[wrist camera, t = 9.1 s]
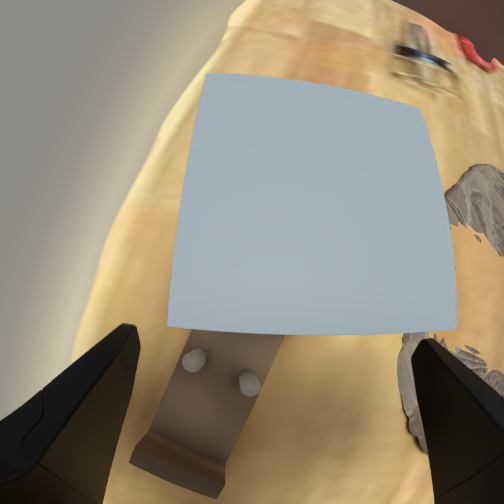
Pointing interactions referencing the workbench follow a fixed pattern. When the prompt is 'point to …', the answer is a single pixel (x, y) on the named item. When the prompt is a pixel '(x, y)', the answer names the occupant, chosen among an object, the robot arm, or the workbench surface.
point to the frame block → (310, 215)
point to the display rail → (206, 408)
